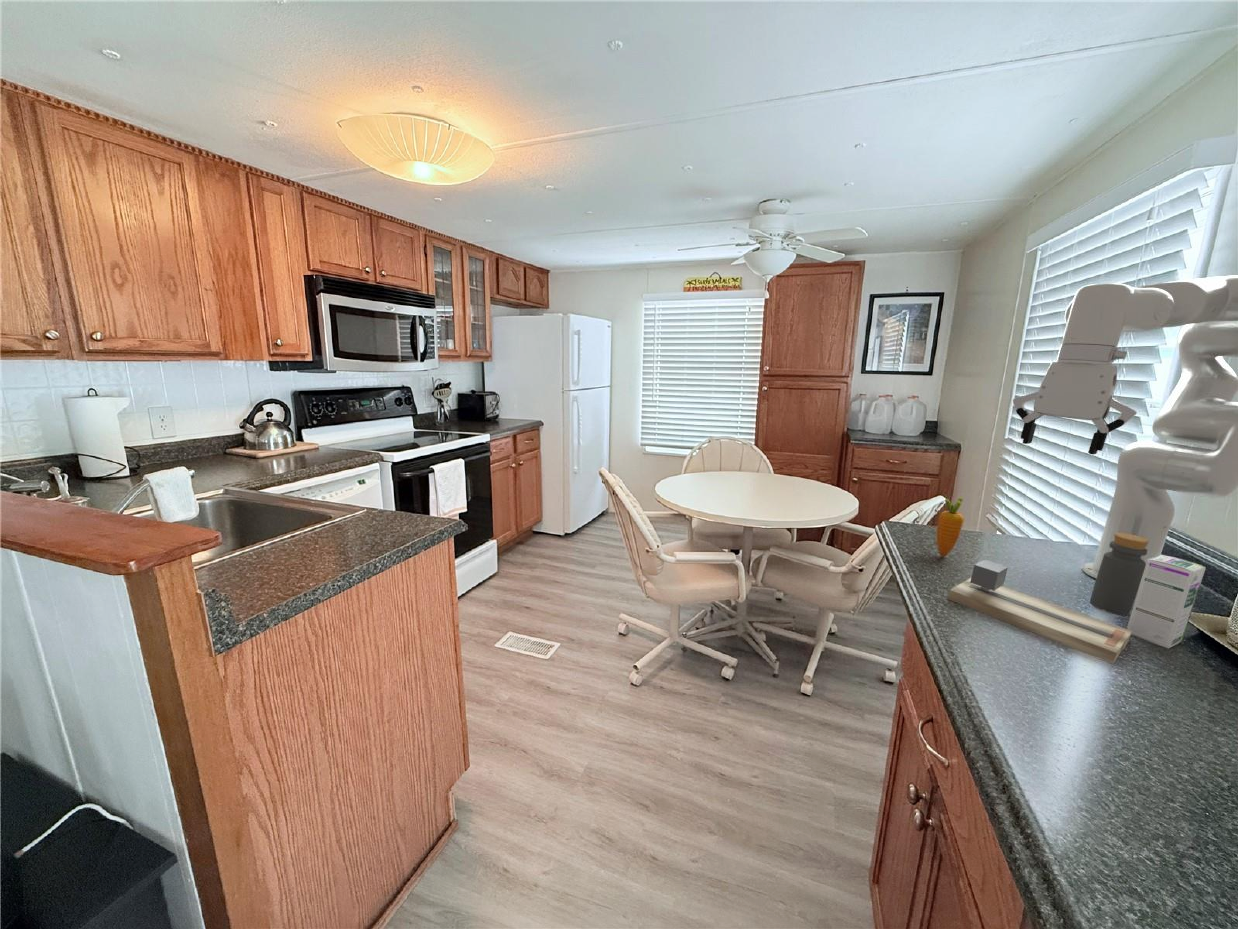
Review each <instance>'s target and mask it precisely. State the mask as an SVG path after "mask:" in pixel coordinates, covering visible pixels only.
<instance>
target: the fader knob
mask: <svg viewBox="0 0 1238 929" xmlns="http://www.w3.org/2000/svg"><path fill="white" fill-rule="evenodd" d="M1008 569H1009V566H1006V565H1003V564H1000V563H996V562H993V561H991V560H988V559H982V560H980V561H978V562H977V563H975V564H974V565H973V569H972V573H971V577H970V578H971V581H970V582H971V583H973V584H976V585H979V586H981V589H983V590H986V591H989V590H993V591H995V590H996V589H998V588H999V587H1001V586H1004V585H1005V580H1006V576H1007V572H1008Z"/></svg>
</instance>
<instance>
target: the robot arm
mask: <svg viewBox="0 0 1238 929" xmlns="http://www.w3.org/2000/svg"><path fill="white" fill-rule="evenodd" d="M1064 322H1065V325H1066V326H1065V329H1064V333H1063V337H1062V341H1061V343H1060V344H1061V345H1060V347H1059V350H1058V354H1057V358H1056V360H1055V362H1054V361H1051V363H1050V365H1049V367H1048V368H1047V371H1046V372H1045V375H1044V377H1043V379H1042V381H1041V384H1040V386H1039V389H1038V391H1036V392H1033V393H1029V394H1025V395H1021V396H1018V397H1016V398H1013V400H1012V403H1013V406H1014V408H1015V411H1016V412H1015V413H1016V414H1017V415H1018V416H1019V417H1020V419H1021V420H1022V422H1023V423H1024V424H1023V426H1022V431H1021V435H1020V439H1021V440H1022V444H1024V445H1028V444H1032V443H1033V442H1032V441H1033V439H1034V436H1035V431H1036V427H1037V424H1036V421H1037V420H1038V419H1040V418H1041V417H1043V416H1050V417H1055V418H1056V417H1058V418H1064V419H1065V418H1066V419H1073V420H1074V419H1075V420H1081V421H1083V420H1084V421H1091V422H1092V423H1093V425H1094V426H1095V427H1096V428H1097V430H1096V432H1094V433H1093V435H1092V439H1091V442H1090V445H1089V449H1088V452H1087V453H1088V454H1089V455H1097V453H1098V451H1099V452H1102V451H1103V449H1104V446H1105V443H1106V440H1107V436H1108V434H1109V433H1111V432H1112V431H1114V430H1116V429H1119V428H1120V427H1123V426H1125V424H1127V422H1129V421H1130V420H1131V419H1133V418H1134V416H1136V415H1137V412H1138V411H1136V409H1133V408H1131V407H1129V406H1128V405H1126V404H1123V403H1122V402H1120V401H1118V400H1116V399H1115V398H1114V395H1115V390H1116V385H1117V378H1118V365H1112V364H1113V363H1114V361H1115V362H1116V360H1125V359H1126V357H1127V353H1128V351H1125V350H1124V351H1123V350H1120V349H1119V348H1118V346H1119V342H1120V339H1121V336H1122V333H1140V332H1141V333H1142V332H1148V331H1152V330H1156V329H1162V328H1173V327H1174V328H1175V327H1181V326H1183V327H1182V328H1181V329H1180V332H1179V335H1178V341H1177V342H1178V355H1179V361H1180V368H1181V369H1180V372H1181V374H1180V379H1179V381H1177V384H1176V386H1175V387H1174V388H1173V390H1172V392H1171V393H1170V395H1169V397H1168V398H1167V399H1166V401H1165V403H1164V404H1163V406H1162V407H1161V409H1160V410H1159V412H1157V415H1156V416H1155V419H1154V421H1153V424H1152V427H1151V428H1152V432H1153V434H1154V435H1155V436H1156V437H1158V438H1160V439H1162V440H1164V441H1157V440H1141V441H1135V442H1132V443H1129V444H1128V445H1126V446H1125V447H1124V448H1123V449H1122V450H1121V451H1120V454H1119V456H1118V459H1117V474H1116V486H1115V489H1114V494H1113V498H1112V502H1111V505H1110V508H1109V512H1108V515H1107V518H1106V522H1105V525H1104V528H1103V532H1102V534H1101V539H1100V541H1099V545H1098V548H1097V550H1096V555H1095V558H1094V562H1087V563H1084V564H1083V565H1082V571H1083V572H1084V573H1085V574H1086V575H1087V576H1090V577H1092V578H1094V579H1095V580H1096V578H1097V575H1098V572H1099V569H1100V565H1101V562H1102V559H1103V556H1104V554H1105V553H1107V552H1112V548H1110V546H1109V545H1110V542H1111V541H1114V534H1115V533H1126V534H1131V535H1136V536H1139V537H1142V538H1145V539H1147V540H1148V541H1149V543H1148V544H1147V546H1146V547H1145V549H1147V554H1146V555H1144V556H1141V559H1142V560H1143V561H1144V562H1145V563H1147V560H1148V559H1151V558H1153V557H1157V556H1159V555H1161V554H1162V552H1163V549H1164V546H1165V543H1166V540H1167V537H1168V533H1169V530H1170V528H1171V525H1172V522H1173V520H1174V516H1175V504H1174V502H1173V500H1172V498H1171V495H1170V494H1169V493H1168V491H1173V492H1177V493H1182V494H1187V495H1190V496H1191V495H1192V496H1197V497H1201V498H1207V499H1222V498H1225V497H1227V496H1230V495H1231V494H1232V493H1234V491H1235V490H1236V489H1237V488H1238V401H1232V400H1233V399H1234V397H1235V395H1236V394H1237V392H1238V375H1237V373H1236V372H1235V371H1234V369H1233V368H1232V367H1231V366H1230V365H1229V363H1227V362H1226V361H1225V359H1224V357H1225V358H1226V357H1227V358H1233V357H1234V358H1238V275H1237V274H1236V275H1226V276H1225V275H1224V276H1212V277H1204V278H1203V277H1202V278H1195V279H1193V278H1192V279H1185V280H1175V281H1168V282H1160V283H1152V284H1146V285H1141V286H1133V287H1132V286H1130V285H1128V284H1123V283H1114V282H1113V283H1108V282H1107V283H1094V284H1093V283H1092V284H1088V285H1085V286H1082V287H1080V288H1079V289H1078V290H1077V291H1076V292H1075V294H1074V297H1073V299H1072V300H1071V302H1070V303H1069V304H1068V306H1067V307H1066V309H1065V313H1064ZM1031 401H1034V404H1033V411H1032V412H1028V410H1027V409H1026V407H1025V404H1026V403H1028V402H1031ZM1111 409H1114V410H1116V411H1118V412H1119V413H1121V415H1120V416H1119V417H1118V418H1117V419H1115V420H1113V421H1111V422H1109V423H1108V421H1107V420H1106V419H1107V417H1108V416H1109V412H1110V410H1111ZM1165 441H1169V442H1165ZM1172 442H1173V443H1172ZM1178 443H1179V444H1178ZM1185 444H1186V445H1185ZM1190 445H1191V446H1190ZM1192 445H1193V446H1192ZM1197 446H1199V447H1197ZM1203 447H1206V448H1203ZM1210 448H1211V449H1210ZM1144 570H1145V569H1144ZM1139 586H1140V585H1139ZM1138 589H1139V588H1138Z"/></svg>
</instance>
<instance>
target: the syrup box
mask: <svg viewBox="0 0 1238 929" xmlns="http://www.w3.org/2000/svg"><path fill="white" fill-rule="evenodd" d="M1205 572H1206V566H1204V565H1203V564H1198V563H1196V562H1194V561H1193V562H1192V561H1189V560H1188V559H1187V560H1186V559H1183V558H1179V557H1175V556H1169V555H1165V554H1162V553H1161V555H1159V556H1157V557H1153V558H1151V559H1148V560H1147V563H1146V566H1145V570H1144V573H1143V576H1142V579H1141V582H1140V586H1139V589H1138V591H1137V594H1136V597H1135V600H1134V603H1133V606H1132V609H1131V612H1130V614H1129V615H1130V616H1129V619H1128V622H1127V626H1126V629H1128V630H1131V631H1132V634H1131V636H1135V637H1137V638H1139V639H1142V640H1144V641H1146V642H1148V643H1149V642H1150V643H1151V644H1153V645H1154V644H1155V645H1157V646H1159V647H1163V648H1166V649H1171V648H1172V647H1174V646H1176V645H1178V644H1179V643H1181V642H1183V639H1184V635H1185V632H1186V629H1187V627H1188V623H1189V620H1190V618H1191V614H1192V611H1193V608H1194V605H1195V602H1196V600H1197V595H1198V593H1199V590H1200V588H1201V584H1202V581H1203V577H1204V575H1205Z"/></svg>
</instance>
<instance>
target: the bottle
mask: <svg viewBox="0 0 1238 929" xmlns="http://www.w3.org/2000/svg"><path fill="white" fill-rule="evenodd" d="M1148 543H1149V541H1148V540H1147V539H1145V538H1142V537H1139V536H1136V535H1131V534H1126V533H1115V534H1114V541H1111V542H1110V545H1109V546H1110V548H1112V552H1107V553H1105V554H1104V556H1103V559H1102V562H1101V565H1100V569H1099V572H1098V575H1097V578H1096V579H1095V582H1094V584H1093V589H1092V593H1091V596H1090V599H1089V603H1090V604H1091V605H1092V606H1094V607H1095V608H1096V609H1099V610H1102V611H1104V612H1108V613H1111V614H1115V615H1119V616H1120V615H1121V616H1128V615H1131V612H1132V609H1133V606H1134V602H1135V599H1136V595H1137V592H1138V588H1139V585H1140V582H1141V579H1142V576H1143V573H1144V569H1145V566H1146V563H1145V562H1144V561H1143V560H1142V559H1141V556H1144V555H1146V554H1147V549H1145V547H1146V546H1147V544H1148Z"/></svg>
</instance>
